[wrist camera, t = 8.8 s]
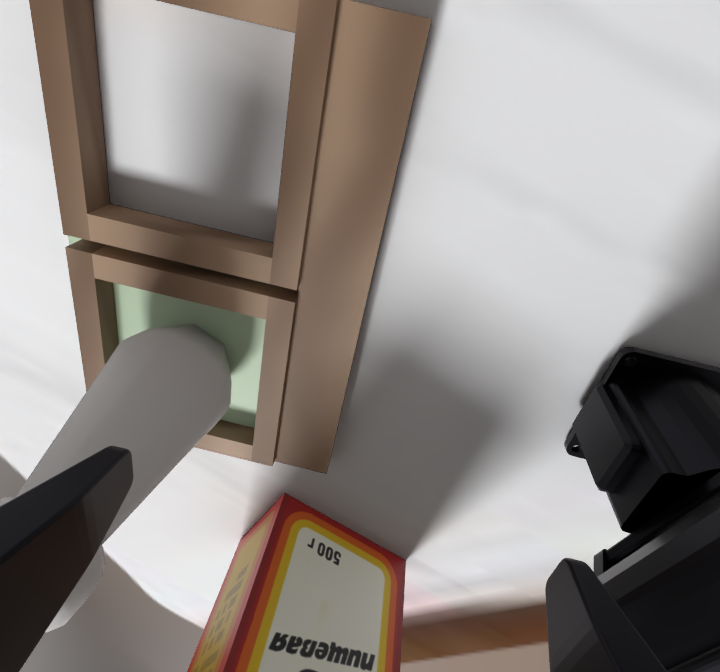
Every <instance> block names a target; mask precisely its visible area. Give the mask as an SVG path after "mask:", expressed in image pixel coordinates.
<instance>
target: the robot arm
mask: <svg viewBox="0 0 720 672" xmlns="http://www.w3.org/2000/svg"><path fill="white" fill-rule="evenodd" d="M628 357H634V358H633V359H632V360H630V361H625V360H626V359H627V358H628ZM564 445H565V448H566V451H567V453H568V454H569V455H572V456H575V457H579V458H584V459H586V461H587V463H588V466H589V469H590V471H591V474H592V476H593V479H594V481H595V484H596V486H597V487H598V489H599V490H600V491H604V492H606V493H607V495H608V498H609V500H610V503H611V505H612V508H613V510H614V512H615V515H616V517H617V520H618V522H619V525H620V527H621V529H622V531H625V532H628V533H631V534H630V535H628V536H627V537H625V538H624V539H622V540H621V541H620V542H618V543H617V544H615V545H614V546H612V547H611V548H609V549H608V550H606V549H603V550H602V551H600V552H599V553H597V554H596V555H595V556H594V572H593V571H592V569H591V568H590V567H589V566H588V565H587V564H586V563H584V562H582V561H578V560H574V559H570V558H565V559H563V560H562V561H561V562H560V563H559V565H558V566H557V567H556V569H555V570H554V571H553V573H552V574H551V576H550V577H549V579H548V581H547V584H546V608H547V626H548V644H549V661H550V672H720V368H717V367H712V366H708V365H704V364H700V363H696V362H692V361H688V360H683V359H679V358H675V357H671V356H667V355H663V354H658V353H654V352H650V351H646V350H642V349H638V348H633V347H627V348H624V349H622V350H620V351H619V352H618V353H617V355H616V356H615V358H614V360H613V361H612V363H611V365H610V366H609V368H608V370H607V371H606V373H605V375H604V377H603V378H602V380H601V382H600V383H599V384H598V385H597V386H595V387H594V389H593V390H592V392H591V394H590V395H589V397H588V399H587V400H586V402H585V404H584V405H583V407H582V409H581V411H580V412H579V414H578V416H577V417H576V419H575V421H574V422H573V429H572V430H571V432H570V434H569V435H568V437H567V439H566V441H565V443H564ZM575 445H579V446H577V447H573V446H575ZM133 478H134V474H133V463H132V454H131V452H130V450H128V449H125V448H121V447H117V446H108V447H105V448H104V449H102V450H100V451H98V452H96V453H95V454H93V455H91V456H89V457H87V458H86V459H84V460H82V461H80V462H78V463H77V464H75V465H73V466H71V467H70V468H68V469H66V470H64V471H62V472H61V473H59V474H57V475H55V476H53V477H52V478H50V479H48V480H46V481H44V482H43V483H41V484H39V485H37V486H35V487H34V488H32V489H30V490H28V491H26V492H25V493H23V494H21V495H19V496H17V497H16V498H14V499H12V500H10V501H9V502H7V503H5V504H3V505H1V506H0V672H19V671H20V669H21V668H22V666H23V665H24V663H25V662H26V660H27V659H28V657H29V656H30V654H31V653H32V651H33V650H34V648H35V647H36V645H37V644H38V642H39V641H40V639H41V638H42V636H43V634H44V633H45V631H46V630H47V628H48V627H49V625H50V624H51V622H52V621H53V619H54V618H55V616H56V615H57V613H58V612H59V610H60V609H61V607H62V606H63V604H64V603H65V601H66V600H67V598H68V597H69V595H70V594H71V592H72V591H73V589H74V588H75V586H76V585H77V583H78V581H79V580H80V578H81V577H82V575H83V574H84V572H85V571H86V569H87V568H88V566H89V565H90V563H91V561H92V560H93V558H94V556H95V554H96V553H97V551H98V549H99V547H100V545H101V543H102V542H103V540H104V538H105V536H106V534H107V532H108V530H109V528H110V526H111V524H112V522H113V521H114V519H115V517H116V515H117V513H118V511H119V509H120V507H121V505H122V503H123V501H124V500H125V498H126V496H127V494H128V492H129V490H130V488H131V486H132V483H133Z"/></svg>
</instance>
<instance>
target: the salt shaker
mask: <svg viewBox="0 0 720 672" xmlns="http://www.w3.org/2000/svg"><path fill="white" fill-rule="evenodd" d="M231 386H232V381H231V372H230V367H229V362H228V358H227V353H226V348H225V344H223V343H222V342H220V341H219V340H217V339H216V338H214V337H213V336H211V335H210V334H208V333H207V332H205V331H204V330H202V329H201V328H199V327H198V326H196V325H195V324H190V325H184V326H178V327H164V328H149V329H147V330H144V331H142V332H140V333H138V334H135V335H133V336H131V337H128V338H127V339H125V340H123V341H121V342H120V344H119V345H118V346H117V348H116V349H115V351H114V352H113V354H112V355H111V357H110V358H109V360H108V361H107V363H106V364H105V366H104V367H103V369H102V370H101V372H100V373H99V375H98V376H97V377H96V379H95V380H94V382H93V383H92V385H91V386H90V388H89V389H88V391H87V392H86V394H85V395H84V397H83V398H82V400H81V401H80V403H79V404H78V405H77V407H76V408H75V410H74V411H73V413H72V414H71V416H70V417H69V419H68V420H67V422H66V423H65V425H64V426H63V428H62V429H61V431H60V432H59V434H58V435H57V436H56V438H55V439H54V441H53V442H52V444H51V445H50V447H49V448H48V450H47V451H46V453H45V454H44V456H43V457H42V459H41V460H40V462H39V463H38V465H37V466H36V467H35V469H34V470H33V472H32V473H31V475H30V476H29V478H28V479H27V481H26V482H25V484H24V485H23V487H22V488H21V490H20V491H19V493H18V494H17V496H19V495H21V494H23V493H25V492H26V491H28V490H30V489H32V488H34V487H35V486H37V485H39V484H41V483H43V482H44V481H46V480H48V479H50V478H52V477H53V476H55V475H57V474H59V473H61V472H62V471H64V470H66V469H68V468H70V467H71V466H73V465H75V464H77V463H78V462H80V461H82V460H84V459H86V458H87V457H89V456H91V455H93V454H95V453H96V452H98V451H100V450H102V449H104V448H105V447H108V446H117V447H121V448H125V449H128V450H130V452H131V454H132V463H133V474H134V478H133V483H132V486H131V488H130V490H129V492H128V494H127V496H126V498H125V500H124V501H123V503H122V505H121V507H120V509H119V511H118V513H117V515H116V517H115V519H114V521H113V522H112V524H111V526H110V528H109V530H108V532H107V534H106V536H105V538H104V540H103V542H102V543H101V545H100V547H99V549H98V551H97V553H96V554H95V556H94V558H93V560H92V561H91V563H90V565H89V566H88V568H87V569H86V571H85V572H84V574H83V575H82V577H81V578H80V580H79V581H78V583H77V585H76V586H75V588H74V589H73V591H72V592H71V594H70V595H69V597H68V598H67V600H66V601H65V603H64V604H63V606H62V607H61V609H60V610H59V612H58V613H57V615H56V616H55V618H54V619H53V621H52V622H51V624H50V625H49V627H48V628H47V630H46V631H45V632H48V631H51V630H53V629H56V628H58V627H61V626H63V625H65V623H66V622H67V621H68V620H69V619H70V618H71V617H72V616H73V614H74V613H75V612H76V611H77V610H78V609H79V608H80V606H81V605H82V604H83V603H84V602H85V600H87V598H88V597H89V596H90V595H91V594H92V592H93V590H94V588H95V587H96V585H97V583H98V582H99V580H100V578H101V577H102V575H103V571H104V568H105V565H106V561H105V556H104V550H103V546H102V544H103V543H104V542H105V541H106V540H107V539H108V538H109V537H110V536H111V535H112V534H113V532H114V531H115V530H116V529H117V528H118V527H119V526H120V525H121V524H122V523H123V522H124V521H125V520H126V518H127V517H128V516H129V515H130V514H131V513H132V512H133V511H134V510H135V509H136V508H137V507H138V506H139V505H140V503H141V502H142V501H143V500H144V499H145V498H146V497H147V496H148V495H149V494H150V493H151V492H152V491H153V489H154V488H155V487H156V486H157V485H158V484H159V483H160V482H161V481H162V480H163V479H164V478H165V477H166V476H167V474H168V473H169V472H170V471H171V470H172V469H173V468H174V467H175V466H176V465H177V464H178V463H179V462H180V461H181V460H182V458H183V457H184V456H185V455H186V454H187V453H188V452H189V451H190V450H191V449H192V448H193V447H194V446H195V445H196V444H197V443H198V442H199V441H200V440H201V439H202V438H203V437H204V436H205V435H206V434H207V433H208V432H209V431H210V430H211V429H212V428H213V427H214V426H215V425H216V424H217V422H218V421H219V420H220V419H221V417H222V416H223V415H224V414H225V413H226V411H227V410H228V408H229V405H230V402H231ZM17 496H16V497H17ZM16 497H15V498H16ZM12 499H14V498H13V497H6V498H3V499H0V506H1V505H3V504H5V503H7V502H9V501H10V500H12Z"/></svg>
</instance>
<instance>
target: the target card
mask: <svg viewBox="0 0 720 672" xmlns="http://www.w3.org/2000/svg"><path fill="white" fill-rule="evenodd" d="M68 238H69V245H71V244H73V243H75V242H77V241H79V240H81V238H77V237H73V236H69V235H68ZM113 287H114V298H115V309H116V319H117V330H118V341H119V344H120V342H121V341H123V340H125V339H127V338H128V337H131V336H133V335H135V334H138V333H140V332H142V331H144V330H147V329H149V328H164V327H178V326H184V325H190V324H195V325H196V326H198V327H199V328H201V329H202V330H204V331H205V332H207V333H208V334H210V335H211V336H213V337H214V338H216V339H217V340H219V341H220V342H222V343H223V344H225V348H226V353H227V358H228V362H229V367H230V372H231V381H232V386H231V402H230V405H229V408H228V410H227V411H226V413H225V414H224V415H223V416H222V417H221V419H220V420H224V421H228V422H232V423H236V424H240V425H244V426H248V427H252V428H255V420H256V410H257V401H258V391H259V381H260V372H261V362H262V352H263V343H264V333H265V324H266V320H265V319H261V318H257V317H253V316H249V315H245V314H241V313H237V312H232V311H228V310H224V309H220V308H216V307H212V306H208V305H203V304H199V303H195V302H191V301H187V300H183V299H179V298H175V297H170V296H166V295H162V294H158V293H154V292H150V291H146V290H142V289H137V288H133V287H129V286H125V285H121V284H117V283H113ZM298 289H299V287H298Z"/></svg>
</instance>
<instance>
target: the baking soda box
mask: <svg viewBox="0 0 720 672" xmlns="http://www.w3.org/2000/svg"><path fill="white" fill-rule="evenodd" d="M405 566H406V560H404V559H402V558H401V557H399V556H397V555H395V554H393V553H392V552H390V551H388V550H386V549H384V548H383V547H381V546H379V545H377V544H375V543H374V542H372V541H370V540H368V539H367V538H365V537H363V536H361V535H359V534H358V533H356V532H354V531H352V530H350V529H349V528H347V527H345V526H343V525H341V524H340V523H338V522H336V521H334V520H332V519H331V518H329V517H327V516H325V515H324V514H322V513H320V512H318V511H316V510H315V509H313V508H311V507H309V506H307V505H306V504H304V503H302V502H300V501H298V500H297V499H295V498H293V497H291V496H290V495H288V494H286V493H284V494H283V495H282V496H281V497H280V498H279V499H278V501H277V502H276V503H275V504H274V505H273V506H272V507H271V508H270V509H269V510H268V511H267V512H266V513H265V515H264V516H263V517H262V518H261V519H260V520H259V521H258V522H257V523H256V524H255V525H254V526H253V527H252V528H251V530H250V531H249V532H248V533H247V534H246V535H245V536H244V537H243V538H242V539H241V540H240V542H239V545H238V547H237V550H236V552H235V555H234V557H233V559H232V562H231V564H230V567H229V569H228V572H227V574H226V577H225V579H224V582H223V584H222V587H221V589H220V592H219V594H218V597H217V599H216V602H215V604H214V606H213V609H212V611H211V614H210V616H209V619H208V621H207V624H206V626H205V629H204V631H203V634H202V636H201V639H200V641H199V644H198V646H197V649H196V651H195V653H194V656H193V658H192V661H191V663H190V666H189V668H188V671H187V672H400V661H401V642H402V623H403V604H404V585H405Z"/></svg>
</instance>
